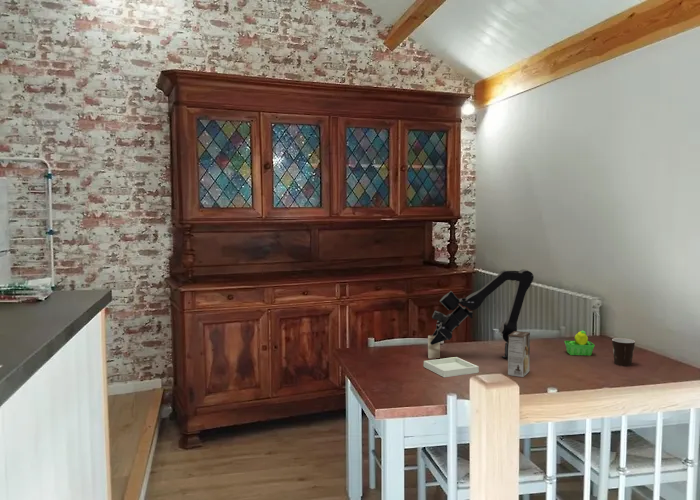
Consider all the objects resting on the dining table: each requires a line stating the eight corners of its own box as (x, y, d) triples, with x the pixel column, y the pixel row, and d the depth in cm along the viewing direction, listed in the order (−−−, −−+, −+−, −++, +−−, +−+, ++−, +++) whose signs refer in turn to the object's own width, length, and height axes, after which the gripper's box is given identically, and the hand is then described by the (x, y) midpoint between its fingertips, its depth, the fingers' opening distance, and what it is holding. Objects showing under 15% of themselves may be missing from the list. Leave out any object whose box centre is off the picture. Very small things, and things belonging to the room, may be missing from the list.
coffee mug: (615, 360, 237) (616, 337, 236) (637, 363, 231) (638, 340, 230) (605, 365, 229) (605, 341, 228) (627, 369, 223) (628, 345, 222)
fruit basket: (589, 352, 251) (589, 327, 250) (596, 357, 242) (596, 331, 242) (563, 351, 252) (564, 327, 252) (569, 356, 244) (569, 331, 243)
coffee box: (513, 369, 225) (514, 330, 223) (529, 371, 221) (530, 332, 220) (507, 375, 217) (507, 334, 216) (523, 377, 213) (524, 336, 212)
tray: (478, 372, 220) (478, 366, 220) (444, 377, 214) (444, 371, 214) (456, 362, 235) (456, 356, 235) (423, 366, 229) (423, 360, 229)
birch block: (439, 355, 247) (439, 335, 246) (439, 358, 242) (439, 338, 241) (427, 355, 247) (428, 335, 247) (428, 358, 242) (428, 338, 242)
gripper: (441, 301, 252) (417, 324, 254) (444, 308, 233) (418, 333, 235) (459, 318, 252) (434, 342, 254) (463, 327, 233) (436, 352, 235)
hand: (430, 342), depth 244 cm, fingers open, 6 cm apart
